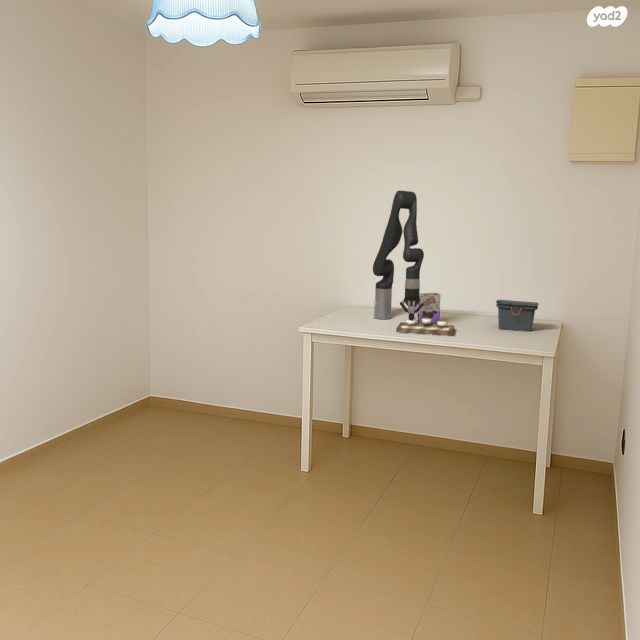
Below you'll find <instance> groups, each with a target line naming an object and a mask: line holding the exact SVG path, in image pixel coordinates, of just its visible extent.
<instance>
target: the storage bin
mask: <svg viewBox="0 0 640 640" xmlns="http://www.w3.org/2000/svg"><path fill="white" fill-rule="evenodd" d="M539 305H540V303H539V302H537V301H534V302H533V301H523V300H522V301H520V300H509V299H496V301H495V306H496V307H497V310H498V311H497V312H498V313H497V314H498V315H497V316H498V317H497V319H498V329H499V330H506V329H509V331H519V330H523V331H522V332H532V330H533V325H534V319H535V313H536V311H537V310H538V308H539Z"/></svg>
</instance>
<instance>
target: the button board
mask: <svg viewBox="0 0 640 640" xmlns="http://www.w3.org/2000/svg"><path fill="white" fill-rule="evenodd" d="M396 332H399V333H398V334H408V333H417V334H416V335H425V334H432V335H431V336H442V335H448V336H447V337H453V336H454V333H455V325H453V324H447V326H445V327H441V326H437V323H435V324H422V323H416V324H415V325H408V324H406V322H400V323H399V324H398V325H397V326H396V331H395V333H396Z"/></svg>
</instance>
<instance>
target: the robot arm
mask: <svg viewBox="0 0 640 640" xmlns="http://www.w3.org/2000/svg"><path fill="white" fill-rule="evenodd" d="M394 194H395V195H394V197H393V199H392V200H393V201H392V205H391V210H390V215H389V218H388V221H387V224H386V228H385V230H384V234H383V237H382V242H381V243H380V247H379V249H378V252H377V255H376V257H375V258H374V259H375V260H374V261H373V264H372V272H373V275H374V276H375V277H376V276H377V277H382V279H380V280H379V281H377V282H376V283H375V287H374V288H375V290H374V291H375V296H374V304H373V305H374V307H373V319H376V318H377V319H376V320H390V319H391V318H392V297H393V294H392V293H393V284H394V275H395V263H394V262H393V260H392V259H387V258H388V256H389V255H390V254H391V253H392V251H394V250H395V249H396V247H397V246H398V245H399V244H400V241H401V239H402V236H403V239H404V246H403V252H402V258H403V260H404V262H405V263H414V264H413V265H411V266H408V267H406V268H405V269H406V270H405V282H404V298H403V299H402V301H400V302H399V305H400V306H401V307H402V309H403V311H404V312H405V313H407V314H408V319H410V321H413V320H414V313H417V312H418V311H419V310H420V309H421V307H422V306H423V305H424V303H422V302H421V301H420V298H419V294H420V290H421V289H420V287H421V286H420V285H421V281H420V275H421V274H420V273H421V267H422V264H423V260H424V257H425V253H424V250H423V249H422V248H419V247H418V248H417V247H415V248H412V247H413V246H417V245H418V244H419V235H418V229H417V228H418V227H417V226H418V225H417V218H418V216H417V213H418V210H417V209H418V208H417V207H418V201H417V194H416V192H414V191H412V190H411V191H410V190H409V191H407V190H397V191H396V193H394ZM401 209H403V210H408V214H409V215H408V217H407V220H406V222H405V224H404V226H403V227H402V223H401V220H400V211H401ZM418 303H419V307H418V308H417V309H416V310H415V307H416V306H417V304H418ZM406 306H407V307H406Z"/></svg>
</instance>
